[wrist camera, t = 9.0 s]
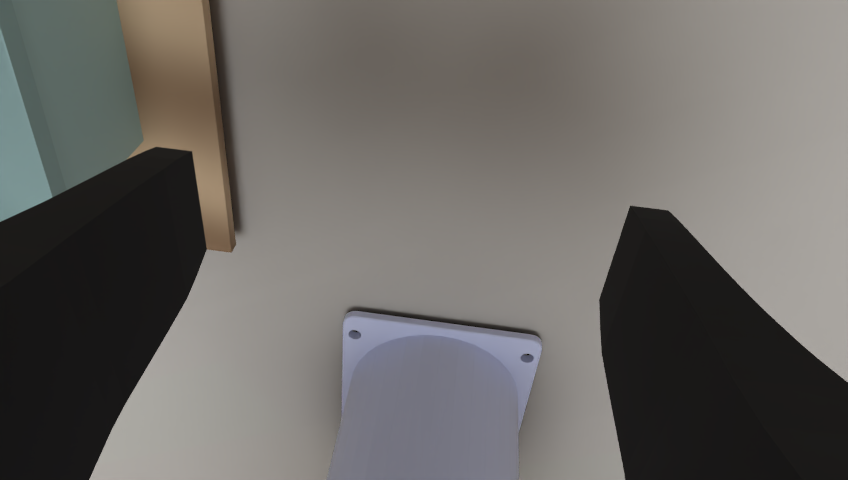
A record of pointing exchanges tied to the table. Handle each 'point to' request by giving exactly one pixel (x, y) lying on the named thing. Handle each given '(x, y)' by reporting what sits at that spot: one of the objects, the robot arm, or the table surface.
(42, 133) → the pale teal rectangular block
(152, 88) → the thin wooden board
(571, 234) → the table surface
